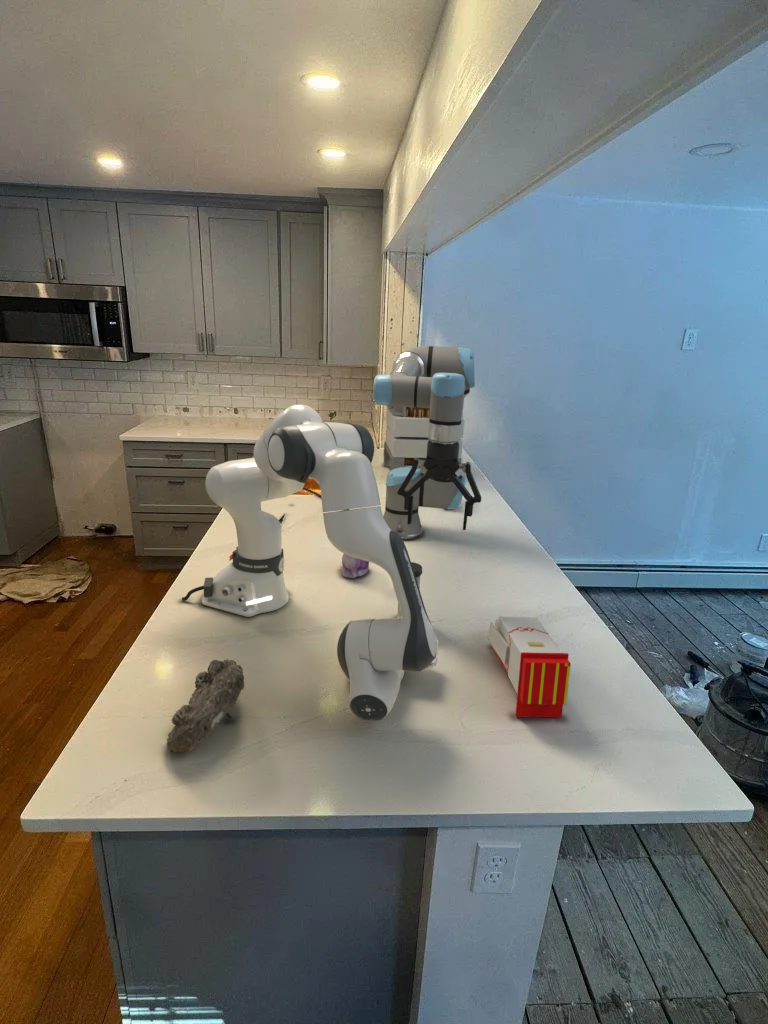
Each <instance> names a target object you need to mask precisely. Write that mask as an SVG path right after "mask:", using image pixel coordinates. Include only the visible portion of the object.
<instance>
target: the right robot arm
mask: <svg viewBox="0 0 768 1024" xmlns="http://www.w3.org/2000/svg"><path fill="white" fill-rule="evenodd" d="M475 387H476V377H475V353H474V351H473V349H471V348H465V347H461V346H440V345H439V346H437V345H436V346H435V345H433V346H432V345H420V346H415V347H411V348H409V349H406V350H404V351H402V352H400V354H397V356H396V357H395V359H394V361H393V363H392V370H391V372H390V373H389V374H388V373H385V374H376V375H375V377H374V380H373V387H372V397H373V402H374V404H376V405H378V406H385V407H387V406H403V407H419V408H430V418H429V428H428V438H429V439H430V440H429V441H428V442H427V456H426V460H420V459H419V458H417V457H416V458H414V460H413V464H412V466H404V467H400V468H396V469H393V470H391V471H390V470H389V471H388V473H387V475H386V482H385V487H386V488H385V504H384V505H385V507H384V508H385V509H384V513H383V514H382V515H383V517H384V520H385V522H386V523H387V525H388V527H389V528H390V529H391V530H392V531H394V532H396V533H398V534H399V535H400V536H401V538H402V540H403V541H410V540H415V539H418V538H420V537H421V536H422V535H423V525H422V524H421V518H420V515H419V508H420V507H421V508H422V507H423V508H431V509H443V510H456V509H458V508H460V506H461V503H462V500H463V498H464V499H465V501H464V511H463V522H462V531H466V530H467V524H468V522H467V521H468V517H472V516H473V511H474V504H477V503H478V504H479V503H481V502H482V495H481V492H480V490H479V487H478V485H477V483H476V480H475V477H474V475H473V473H472V463H471V462H470V461H466V462H461V463H459V462H458V459H459V449H460V439H462V438H461V427H462V419H463V414H464V403H465V398H466V397H467V396H468V395H469V394H470V393H471V391H470V390H471V389H473V388H475ZM422 465H424V466H422ZM422 467H424V468H425V470H426V472H422V469H421V468H422ZM460 468H461V470H460ZM463 473H465V476H464V475H463ZM466 479H467V482H468V484H469V487H470V489H471V491H472V494H471V493H470V492H469V490H468V488H467V487H466V486H465V485H466ZM302 490H304V491H306V492H309V493H311V494H313V495H315V496H317V497H319V498H321V493H318V492H316V491H313V490H312V489H309V488H307V487H306V486H304V487H303V489H302ZM346 510H350V509H346Z"/></svg>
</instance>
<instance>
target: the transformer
mask: <svg viewBox="0 0 768 1024" xmlns="http://www.w3.org/2000/svg"><path fill="white" fill-rule="evenodd" d="M385 414H386V415H385V423H386V428H385V438H384V442H383V466H384V467H388V468H389V472H390V471H391V470H393V469H396V468H400V467H405V466H406V467H412V464H413V460H414V458H416V457H417V458H419V459H420V460H426V456H427V442H428V441H429V440H430V439H429V438H428V428H429V418H430V408H419V407H403V406H386V413H385ZM464 429H465V419H464V418H462V427H461V438H460V449H459V459H458V462H459V463H463V462H462V461H463V460H462V453H463V442H464V441H463V440H462V439H463V438H464V431H465V430H464ZM421 467H424V465H422V466H421ZM460 470H461V471H462V469H461V468H460Z"/></svg>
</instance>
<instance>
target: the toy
mask: <svg viewBox="0 0 768 1024" xmlns="http://www.w3.org/2000/svg"><path fill="white" fill-rule="evenodd" d="M488 625H489V627H488V633H487V641H488V642H489V644H490V646H491V647H490V648H491V649H492V650H493V652H494V654H495V656H496V658H497V659H498V660H499V662H500V664H501V666H502V668H503V669H504V671H505V673H506V674H507V676H508V678H509V680H510V682H511V685H512V686H513V689H514V690H515V693H516V704H515V717H516V718H517V717H518V718H519V717H520V718H521V717H522V718H563V710H564V705H567V701H568V692H569V685H570V684H569V683H570V676H571V675H570V674H571V666H572V664H571V661H570V660H569V655H570V654H569V653H568V652H563V651H562V649H561V648H560V647H559V646H558V644H557V643H556V642H555V640H554V639H553V638H552V636H551V635H550V634H549V632H548V631H547V629H546V628H545V627H544V626H543V624H542V622H541V621H540V620H539V619H538V618H537V616H498V618H496V619H494V623H493V622H489V624H488Z"/></svg>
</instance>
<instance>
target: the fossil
mask: <svg viewBox="0 0 768 1024" xmlns="http://www.w3.org/2000/svg"><path fill="white" fill-rule="evenodd" d="M243 670H244V669H243V667H242V665H240V664H237V662H236V661H235V660H234V659H232V658H231V659H227V658H226V659H224V660H223V661H222V660H217V659H212V660H211V661H210V663H209V665H208V666H207V671H201V672H199V673H198V674H197V675H196V676H195V680H194V684H195V685H194V687H195V689H194V690H193V693H192V694H191V697H190V698H189V700H188V704H184V705H182V706H181V707H180V709H177V710H176V711H175V713H174V715H173V716H172V718H171V723H172V724H173V727H172V730H171V731H170V732H168V734H167V738H166V741H167V742H166V745H167V749H168V750H169V751H173V752H174V753H176V754H178V753H182V752H188V751H189V752H192V751H193V750H195V748H196V747H197V746H199V744H200V743H201V742H203V741H204V740H205V739H206V738H207V737H208V736H209V735H210V734H211V733H212V732H214V730H215V729H217V727H218V726H219V724H220V722H221V721H222V720H223V719H224V718H225V716H226V717H227V719H229V720H233V717H232V715H230V714H229V710H230V709H231V708H234V706H235V704H236V703H237V702H238V699H239V697H240V695H241V693H242V691H243V690H245V689H244V688H245V675H244V671H243Z"/></svg>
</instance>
